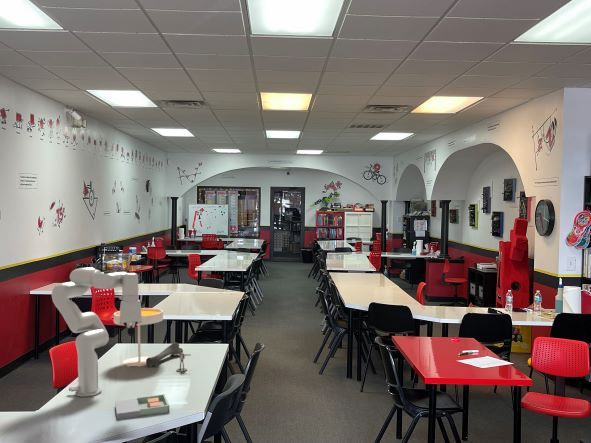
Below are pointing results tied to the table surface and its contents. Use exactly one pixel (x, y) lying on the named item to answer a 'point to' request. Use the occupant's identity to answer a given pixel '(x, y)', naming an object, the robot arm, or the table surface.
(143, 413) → the tray
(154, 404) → the tile near
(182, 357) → the figurine
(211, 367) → the table surface
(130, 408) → the deck
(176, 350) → the bone
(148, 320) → the round pedestal stand
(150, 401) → the tile far
